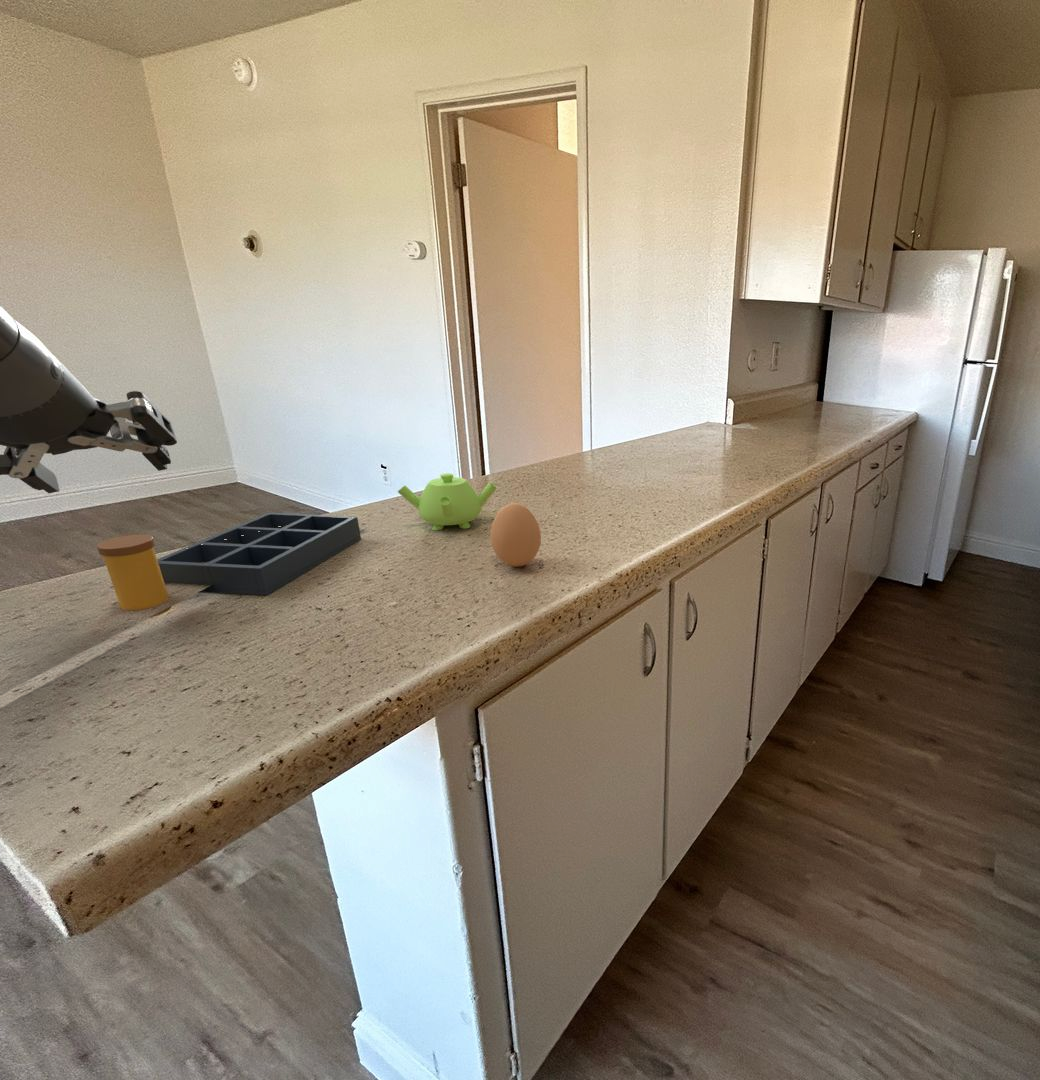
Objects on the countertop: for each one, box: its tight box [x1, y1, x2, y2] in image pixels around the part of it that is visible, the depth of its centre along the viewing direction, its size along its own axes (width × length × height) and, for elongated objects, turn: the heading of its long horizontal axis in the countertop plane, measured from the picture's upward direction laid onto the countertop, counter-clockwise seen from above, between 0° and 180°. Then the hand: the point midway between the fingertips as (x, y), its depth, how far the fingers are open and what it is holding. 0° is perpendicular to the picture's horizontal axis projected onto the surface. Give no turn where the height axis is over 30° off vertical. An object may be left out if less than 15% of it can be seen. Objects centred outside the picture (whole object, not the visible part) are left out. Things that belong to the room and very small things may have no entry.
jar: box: [96, 534, 172, 618], centre depth 66 cm, size 4×4×8 cm
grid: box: [157, 512, 362, 596], centre depth 80 cm, size 13×20×4 cm
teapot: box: [397, 472, 498, 531], centre depth 97 cm, size 11×12×8 cm
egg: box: [490, 502, 542, 568], centre depth 82 cm, size 7×7×9 cm
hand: (109, 473), depth 61 cm, fingers open, 8 cm apart
